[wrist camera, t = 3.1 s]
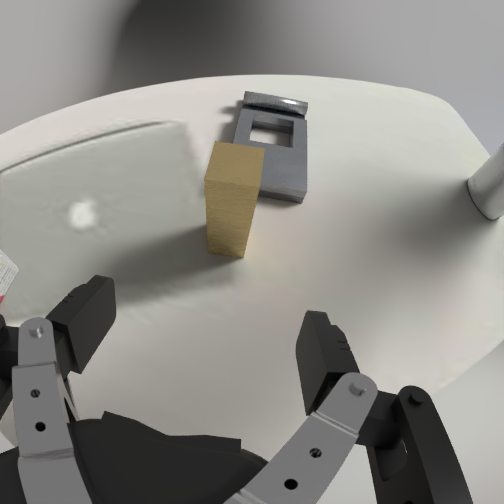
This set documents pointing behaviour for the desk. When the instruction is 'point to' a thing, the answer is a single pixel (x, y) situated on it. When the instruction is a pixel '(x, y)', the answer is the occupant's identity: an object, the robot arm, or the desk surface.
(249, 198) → the pine wood offcut
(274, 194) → the upper end link
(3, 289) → the ink cartridge box
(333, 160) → the desk surface
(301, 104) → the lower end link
